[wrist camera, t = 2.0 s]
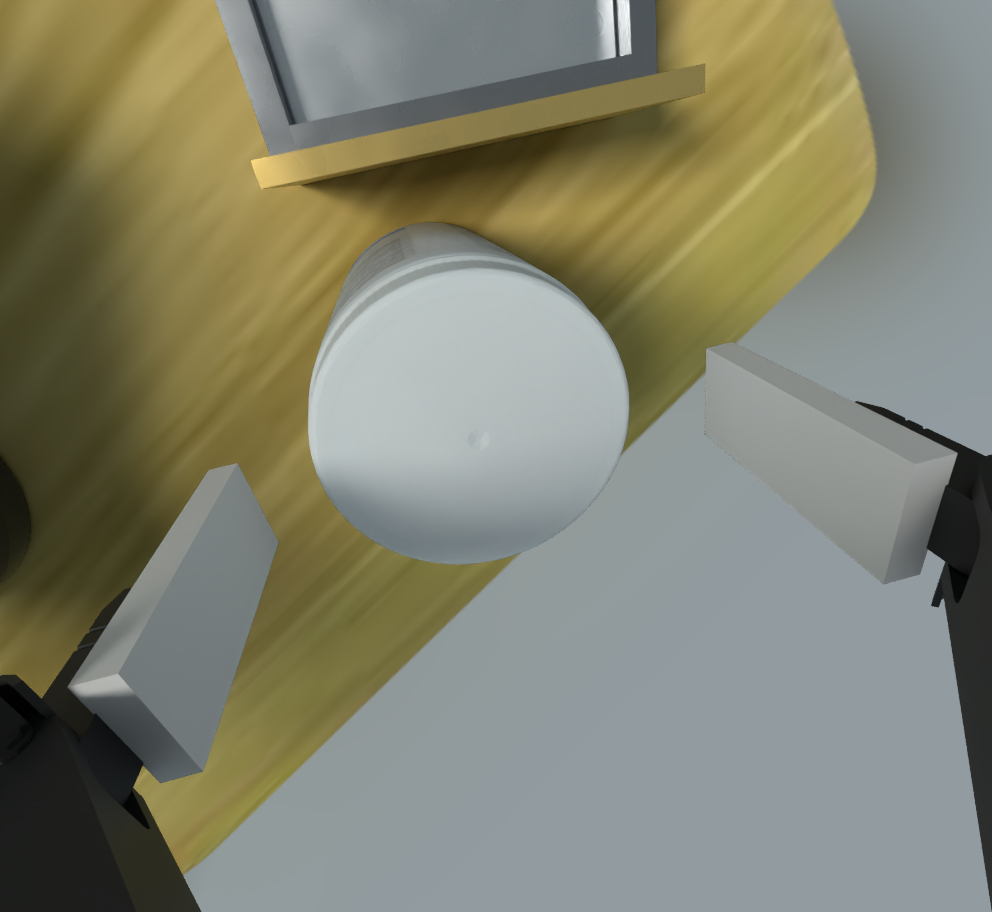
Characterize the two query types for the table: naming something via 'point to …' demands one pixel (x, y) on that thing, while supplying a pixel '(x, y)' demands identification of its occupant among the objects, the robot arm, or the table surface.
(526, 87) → the gray square tray
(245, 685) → the table surface
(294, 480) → the table surface
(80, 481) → the table surface
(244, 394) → the table surface
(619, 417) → the supplement tub
